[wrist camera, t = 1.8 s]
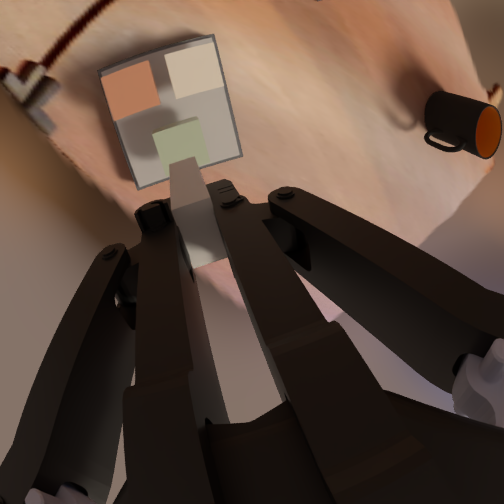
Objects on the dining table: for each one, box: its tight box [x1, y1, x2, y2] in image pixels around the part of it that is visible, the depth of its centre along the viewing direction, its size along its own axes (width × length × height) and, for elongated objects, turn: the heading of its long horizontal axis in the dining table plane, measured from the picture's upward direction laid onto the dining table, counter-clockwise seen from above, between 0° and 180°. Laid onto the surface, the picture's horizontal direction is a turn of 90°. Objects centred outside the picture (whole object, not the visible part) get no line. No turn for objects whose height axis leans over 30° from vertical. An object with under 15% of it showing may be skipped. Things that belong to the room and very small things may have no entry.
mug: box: [424, 91, 502, 159], centre depth 34 cm, size 8×12×10 cm
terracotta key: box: [101, 60, 161, 121], centre depth 22 cm, size 4×4×2 cm
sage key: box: [152, 116, 211, 177], centre depth 26 cm, size 4×4×2 cm
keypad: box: [97, 34, 243, 190], centre depth 28 cm, size 14×12×3 cm
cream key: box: [164, 42, 224, 99], centre depth 22 cm, size 4×4×2 cm
